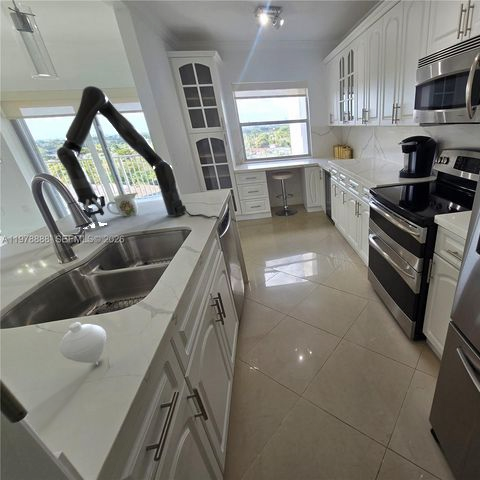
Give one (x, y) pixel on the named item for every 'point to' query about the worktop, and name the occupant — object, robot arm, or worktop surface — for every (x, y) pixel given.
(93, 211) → the lever
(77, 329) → the spinning top
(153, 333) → the worktop surface
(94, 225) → the toaster bracket
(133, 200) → the pitcher
